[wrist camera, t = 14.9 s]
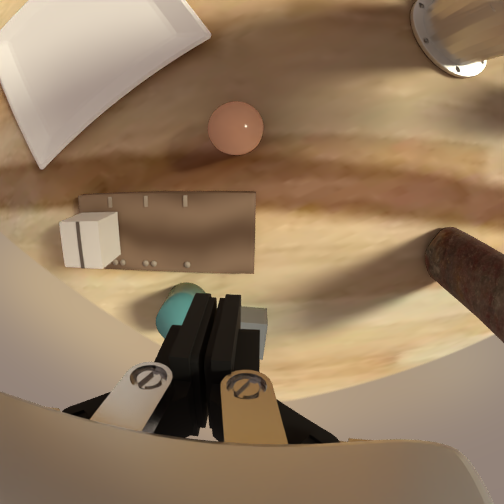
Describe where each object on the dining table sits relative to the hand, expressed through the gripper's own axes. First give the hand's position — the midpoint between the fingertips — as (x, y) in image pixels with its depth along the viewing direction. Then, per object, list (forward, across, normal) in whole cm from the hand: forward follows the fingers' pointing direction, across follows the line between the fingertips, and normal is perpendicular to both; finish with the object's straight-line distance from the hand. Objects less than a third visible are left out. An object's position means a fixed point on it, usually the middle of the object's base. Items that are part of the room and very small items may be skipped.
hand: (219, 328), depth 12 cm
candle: (+25, -26, +5) cm, 36 cm away
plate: (+25, +22, -23) cm, 41 cm away
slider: (+22, +17, +3) cm, 28 cm away
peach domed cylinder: (+25, +1, -8) cm, 26 cm away
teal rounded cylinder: (+24, +7, +12) cm, 28 cm away
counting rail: (+24, +10, +3) cm, 26 cm away
